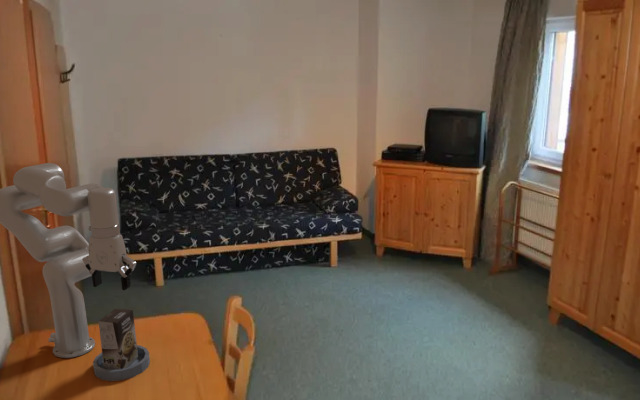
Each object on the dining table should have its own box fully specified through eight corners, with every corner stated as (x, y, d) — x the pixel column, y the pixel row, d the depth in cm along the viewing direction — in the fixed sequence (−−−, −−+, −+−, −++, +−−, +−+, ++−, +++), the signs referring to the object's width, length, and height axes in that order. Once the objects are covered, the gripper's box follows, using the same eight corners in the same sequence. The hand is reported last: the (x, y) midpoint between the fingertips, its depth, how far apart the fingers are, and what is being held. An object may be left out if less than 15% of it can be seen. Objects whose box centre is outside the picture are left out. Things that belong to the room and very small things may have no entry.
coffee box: (122, 373, 167) (116, 322, 163) (103, 370, 168) (97, 321, 164) (139, 357, 176) (133, 309, 172) (120, 355, 177) (114, 307, 173)
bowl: (83, 376, 167) (81, 367, 166) (115, 350, 182) (114, 342, 181) (129, 383, 163) (128, 374, 162) (159, 356, 177) (158, 347, 177)
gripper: (71, 233, 160) (78, 289, 165) (124, 237, 156) (130, 294, 160) (88, 225, 167) (94, 279, 172) (139, 229, 163) (145, 284, 167)
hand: (112, 286), depth 166 cm, fingers open, 9 cm apart
